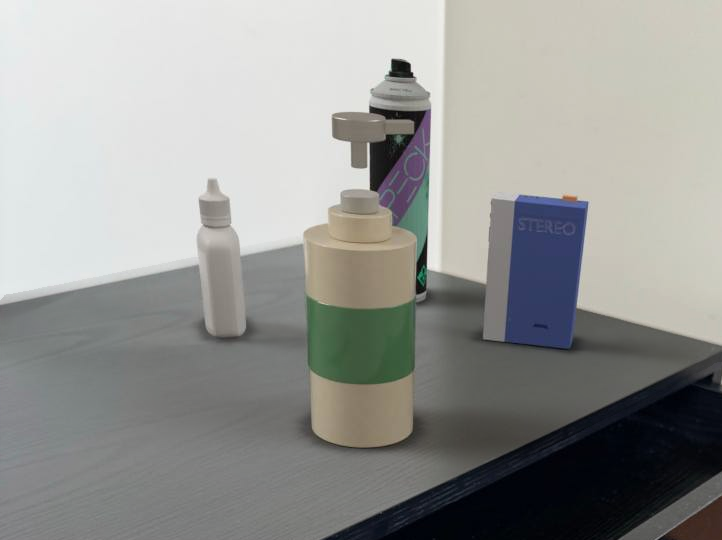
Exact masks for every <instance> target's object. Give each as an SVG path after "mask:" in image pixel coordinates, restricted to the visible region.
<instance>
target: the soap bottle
mask: <svg viewBox="0 0 722 540" xmlns="http://www.w3.org/2000/svg"><path fill="white" fill-rule="evenodd" d="M339 196H340V197H339V198H340V200H339V202H340V203H339V204H335V205H332V206H329V207H328V209H327V223H322V224H321V223H320V224H317V225H313V226H310V227H309V228H308V227H307V229H305V230H304V231H303V233H302V245H303V266H304V268H303V269H304V306H305V307H304V308H305V326H306V328H305V329H306V351H307V367H308V376H309V379H308V380H309V398H310V421H311V422H310V423H311V430H312V431H313V433H314V435H316V436H317V437H318V438H319V439H322V440H323V441H326V442H328V443H332V444H334V445H337V446H342V447H349V448H362V449H363V448H364V449H365V448H380V447H385V446H390V445H394V444H397V443H399V442H403V440H405V439H407V438H408V437H409V436H410V435H411V434H412V432H413V431H414V398H415V397H414V394H415V368H416V332H417V330H416V329H417V327H416V326H417V302H416V248H417V238H416V236H415V235H414V234H413V233H412V232H410V231H408V230H405V229H403V228H399V227H396V226H392V212H391V210H390V209H388V208H386V207H383V206H379V194H378V193H377V192H375V191H371V190H370V189H363V188H350V189H344V190H342V191H340V193H339Z"/></svg>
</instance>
